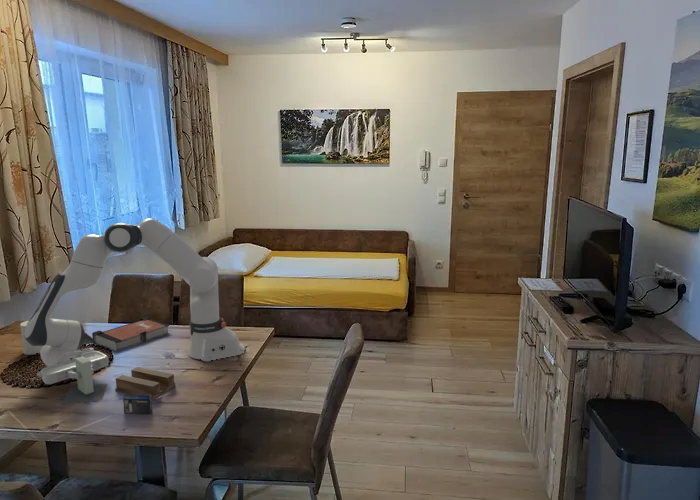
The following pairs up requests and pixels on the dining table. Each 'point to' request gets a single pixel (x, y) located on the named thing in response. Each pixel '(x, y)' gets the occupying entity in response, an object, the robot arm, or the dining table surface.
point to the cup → (28, 347)
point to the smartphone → (87, 339)
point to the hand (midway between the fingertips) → (85, 374)
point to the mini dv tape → (137, 403)
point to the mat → (84, 395)
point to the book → (130, 334)
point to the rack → (145, 382)
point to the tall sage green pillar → (84, 375)
